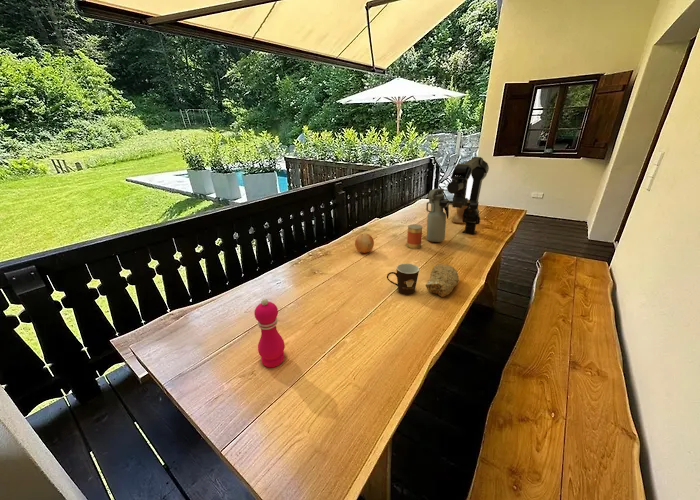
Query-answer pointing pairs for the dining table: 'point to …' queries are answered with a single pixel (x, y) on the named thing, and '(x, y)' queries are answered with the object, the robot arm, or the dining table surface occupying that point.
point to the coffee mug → (406, 278)
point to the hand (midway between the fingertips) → (456, 219)
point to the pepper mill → (269, 334)
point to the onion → (364, 243)
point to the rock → (442, 279)
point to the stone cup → (459, 214)
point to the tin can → (414, 236)
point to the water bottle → (435, 217)
